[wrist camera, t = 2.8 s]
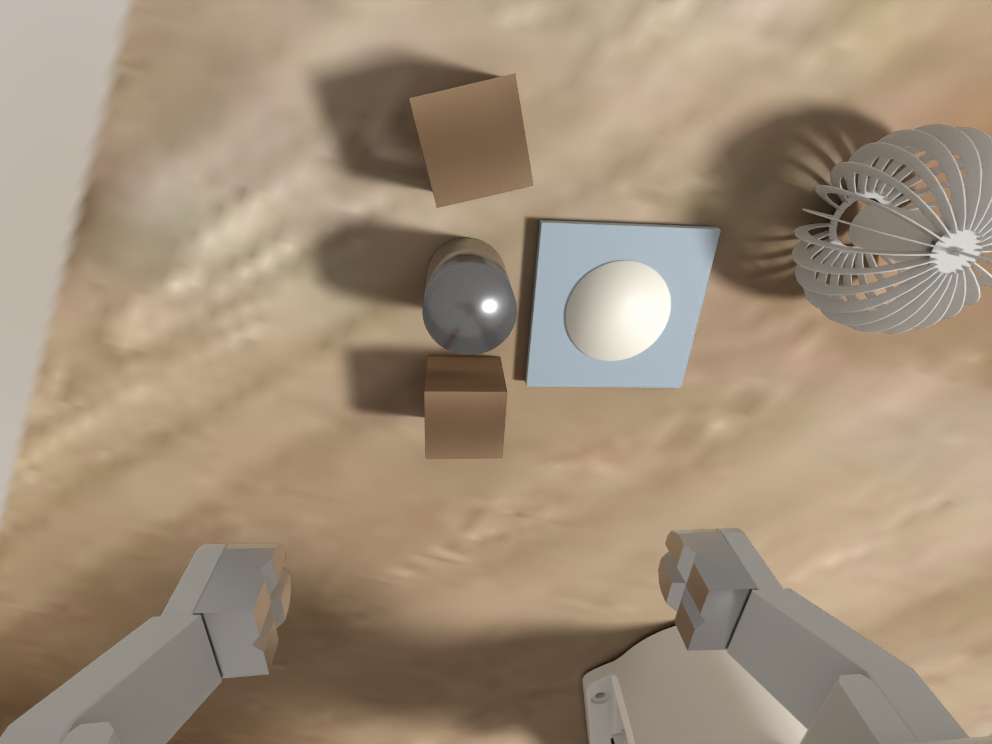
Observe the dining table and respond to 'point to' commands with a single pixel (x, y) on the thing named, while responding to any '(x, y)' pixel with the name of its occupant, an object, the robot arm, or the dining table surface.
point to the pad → (616, 303)
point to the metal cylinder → (468, 297)
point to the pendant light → (904, 232)
